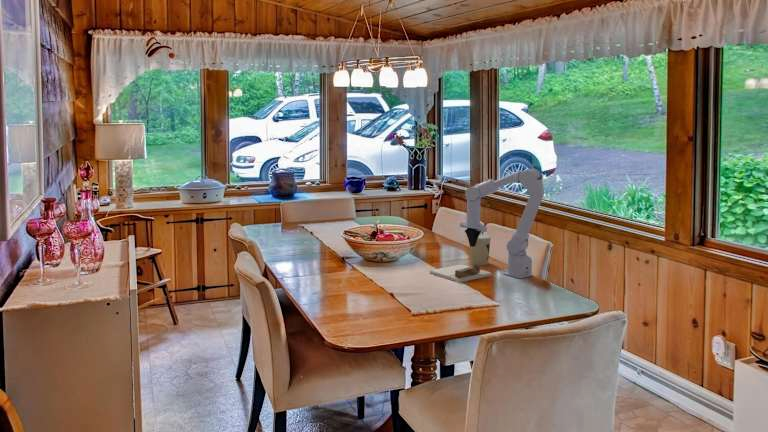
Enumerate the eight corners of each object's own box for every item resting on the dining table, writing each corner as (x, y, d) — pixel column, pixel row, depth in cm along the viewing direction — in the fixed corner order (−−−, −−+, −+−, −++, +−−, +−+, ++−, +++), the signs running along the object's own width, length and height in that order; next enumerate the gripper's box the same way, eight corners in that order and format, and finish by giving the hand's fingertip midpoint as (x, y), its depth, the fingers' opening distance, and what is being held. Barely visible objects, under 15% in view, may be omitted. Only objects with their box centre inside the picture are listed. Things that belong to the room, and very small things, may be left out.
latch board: (491, 275, 280) (491, 272, 280) (458, 282, 269) (458, 279, 269) (461, 267, 294) (461, 264, 294) (429, 273, 284) (429, 270, 284)
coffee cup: (491, 265, 297) (492, 238, 295) (469, 265, 297) (470, 238, 295) (488, 260, 306) (489, 234, 304) (467, 260, 306) (468, 234, 304)
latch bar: (474, 271, 280) (475, 264, 280) (479, 272, 278) (479, 265, 278) (455, 276, 272) (455, 269, 272) (459, 277, 270) (459, 270, 270)
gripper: (492, 216, 284) (491, 247, 286) (468, 211, 295) (467, 242, 298) (480, 217, 280) (479, 250, 282) (456, 213, 291) (455, 244, 293)
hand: (472, 246), depth 289 cm, fingers closed
